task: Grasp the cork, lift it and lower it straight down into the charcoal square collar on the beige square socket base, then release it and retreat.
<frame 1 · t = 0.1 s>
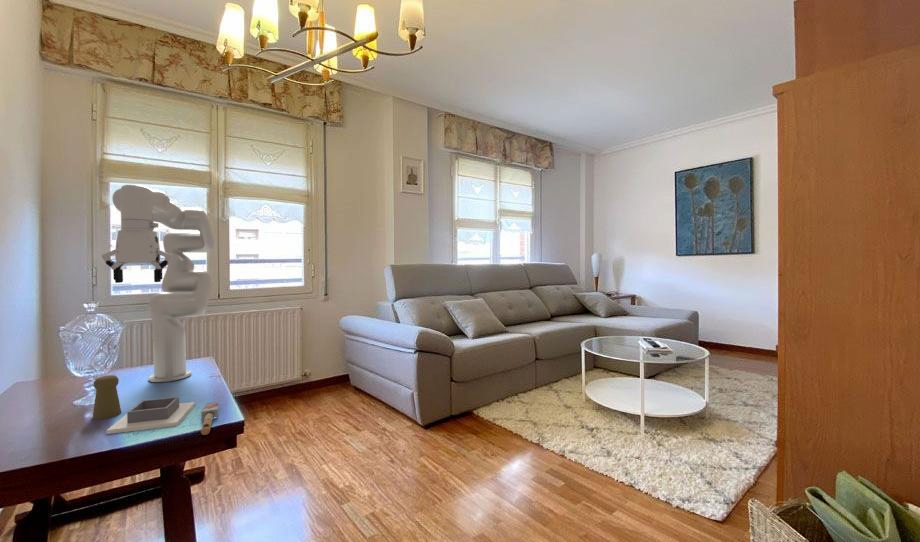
hand: (138, 282, 119), 37 cm above the table, fingers open, 9 cm apart
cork: (107, 415, 109), on the table
paintbrush: (209, 421, 106), on the table
beige square socket base: (154, 418, 107), on the table
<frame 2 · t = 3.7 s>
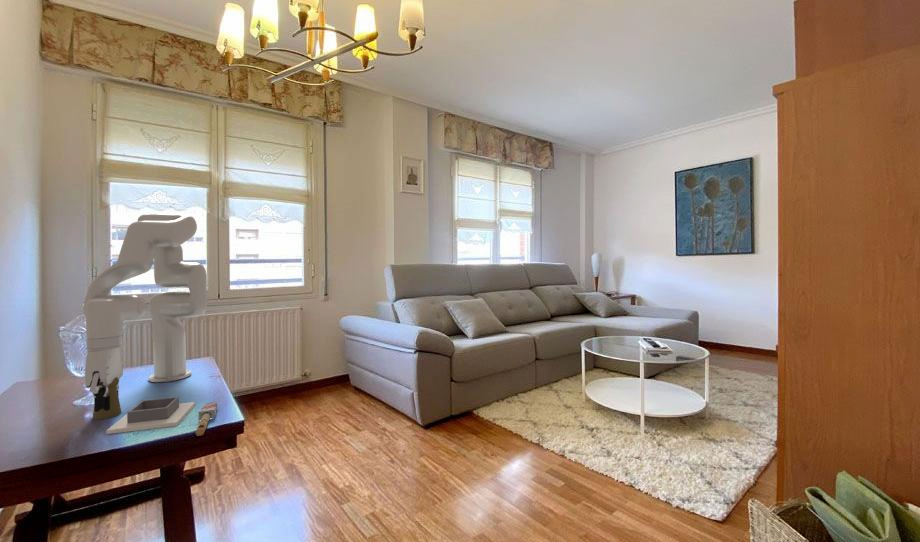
hand: (107, 406, 109), 2 cm above the table, fingers closed on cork, 4 cm apart
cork: (107, 415, 109), on the table, touching gripper
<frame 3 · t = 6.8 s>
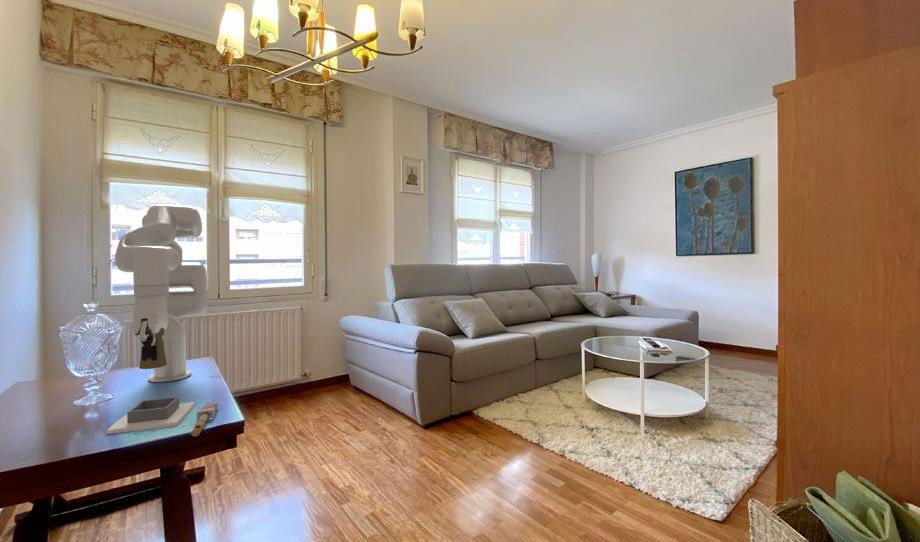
hand: (153, 357, 106), 17 cm above the table, fingers closed on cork, 4 cm apart
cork: (153, 366, 106), point 14 cm above the table, touching gripper
when the fingers open (5 cm above the table, at t = 10.0 s): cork drops 1 cm, resting on beige square socket base.
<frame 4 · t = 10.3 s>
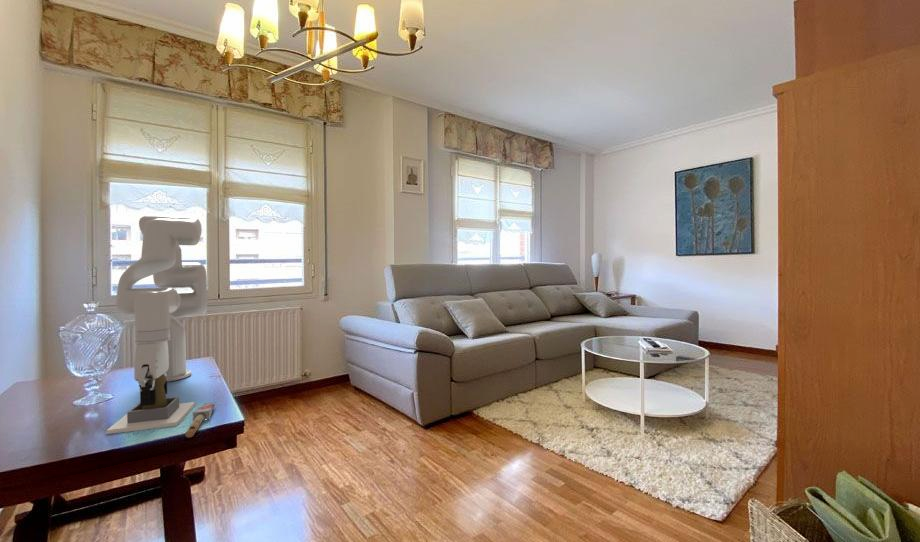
hand: (154, 399, 107), 5 cm above the table, fingers open, 7 cm apart
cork: (155, 414, 107), point 1 cm above the table, touching beige square socket base
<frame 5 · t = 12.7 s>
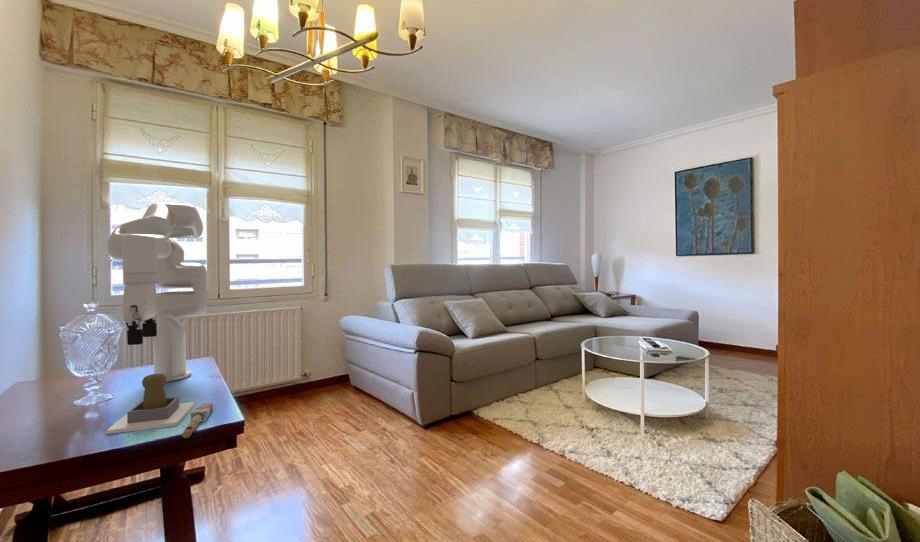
hand: (142, 340, 108), 21 cm above the table, fingers open, 9 cm apart
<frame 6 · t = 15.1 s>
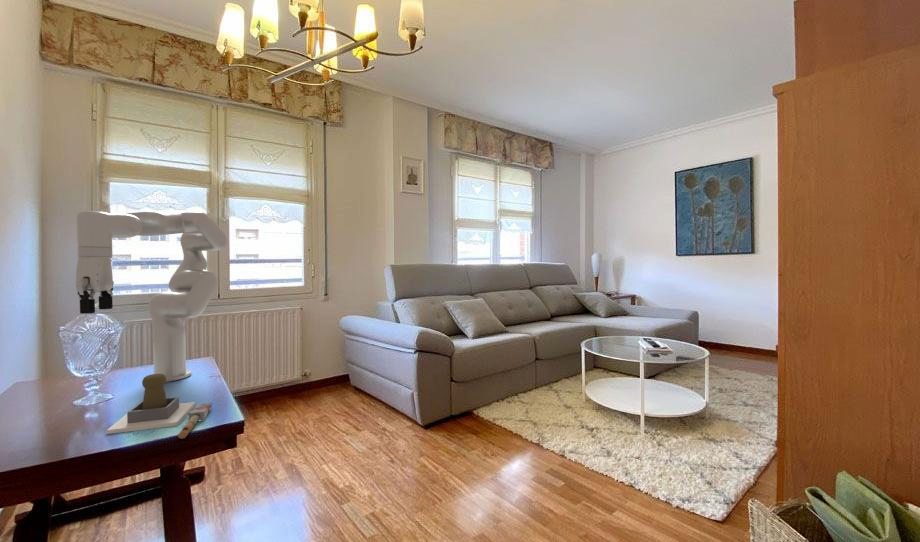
hand: (97, 311, 115), 28 cm above the table, fingers open, 9 cm apart
at the end: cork 0.6 cm from the beige square socket base (horizontally); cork point 0.8 cm above the table; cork tilted 0° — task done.
